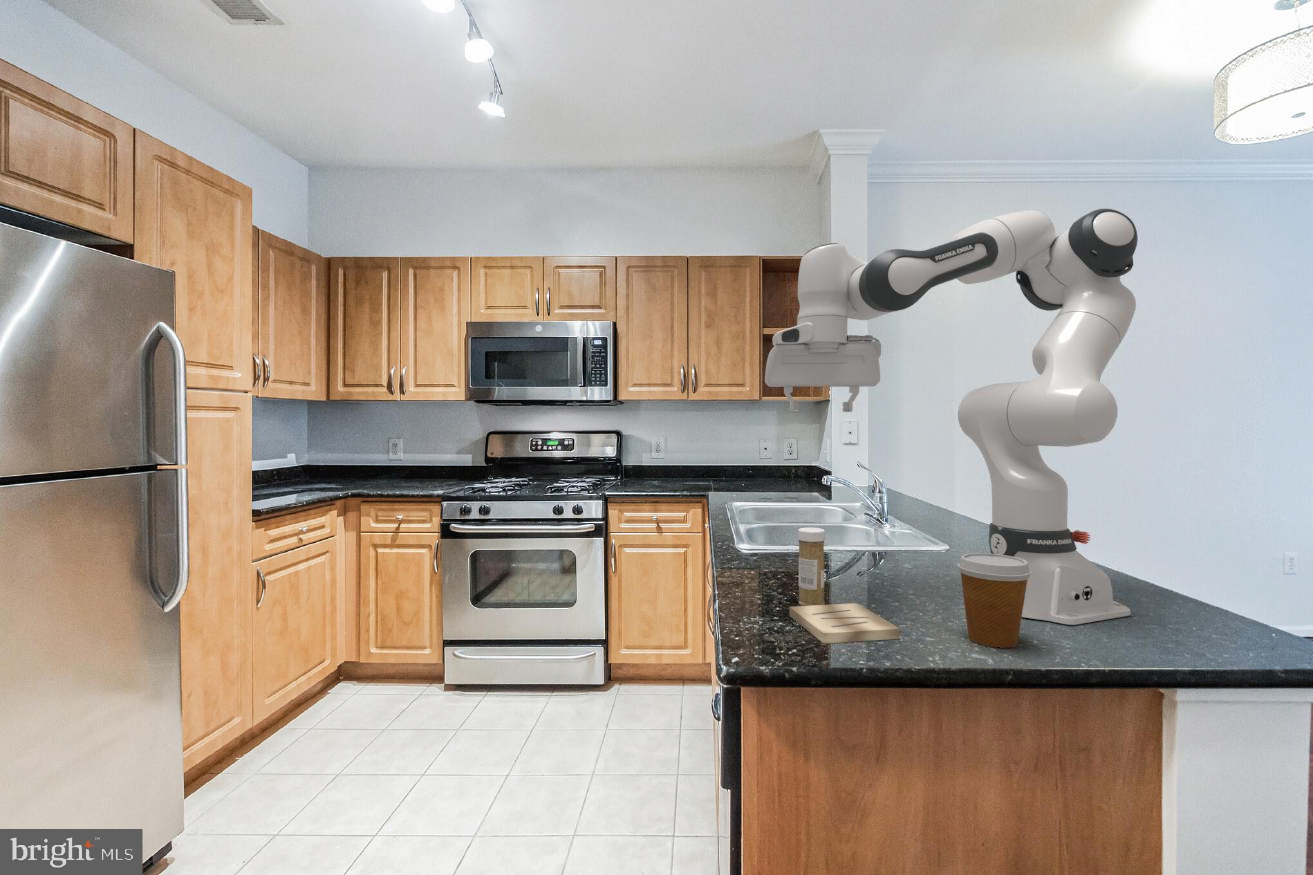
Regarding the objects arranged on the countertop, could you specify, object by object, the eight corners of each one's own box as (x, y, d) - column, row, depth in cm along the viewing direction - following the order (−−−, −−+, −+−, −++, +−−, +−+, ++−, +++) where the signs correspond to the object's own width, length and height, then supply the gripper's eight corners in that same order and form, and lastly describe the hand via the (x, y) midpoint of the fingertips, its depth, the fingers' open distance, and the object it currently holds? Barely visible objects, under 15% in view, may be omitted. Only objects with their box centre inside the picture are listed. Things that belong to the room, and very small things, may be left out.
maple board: (856, 611, 104) (856, 602, 104) (899, 638, 91) (899, 628, 91) (789, 615, 102) (789, 606, 102) (823, 643, 89) (823, 633, 89)
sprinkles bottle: (830, 606, 107) (830, 529, 107) (811, 610, 104) (812, 531, 104) (810, 599, 111) (810, 525, 110) (792, 604, 108) (792, 528, 108)
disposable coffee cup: (945, 629, 95) (946, 552, 95) (1009, 630, 95) (1010, 552, 94) (974, 651, 86) (975, 566, 85) (1044, 653, 85) (1046, 567, 85)
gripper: (877, 337, 113) (875, 412, 114) (764, 338, 116) (763, 411, 116) (885, 332, 107) (884, 411, 107) (766, 333, 110) (765, 411, 110)
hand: (820, 411), depth 112 cm, fingers open, 8 cm apart
